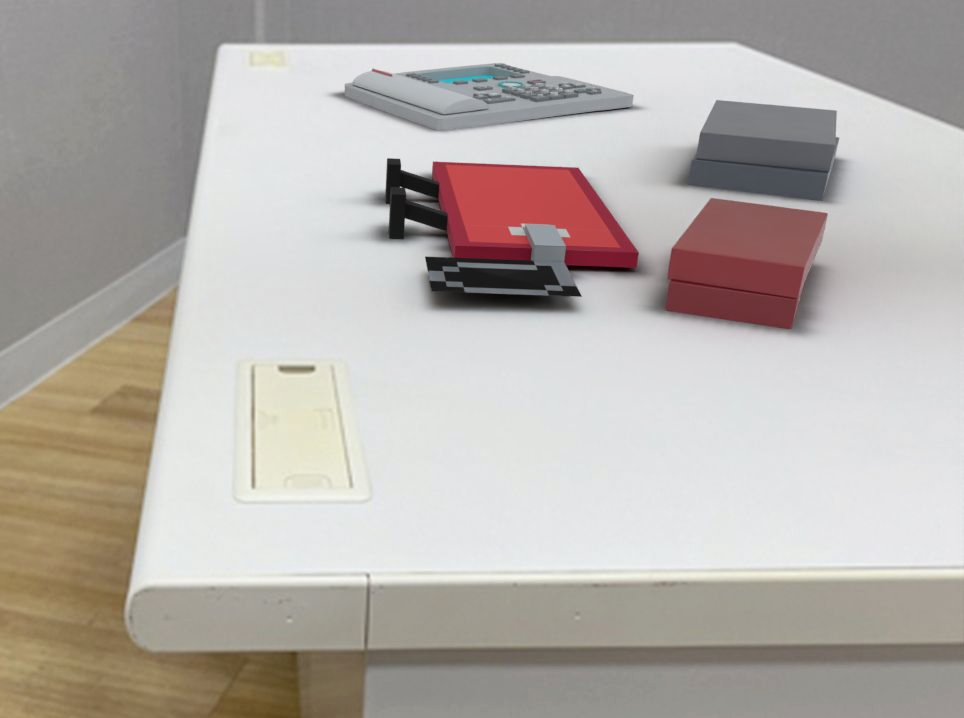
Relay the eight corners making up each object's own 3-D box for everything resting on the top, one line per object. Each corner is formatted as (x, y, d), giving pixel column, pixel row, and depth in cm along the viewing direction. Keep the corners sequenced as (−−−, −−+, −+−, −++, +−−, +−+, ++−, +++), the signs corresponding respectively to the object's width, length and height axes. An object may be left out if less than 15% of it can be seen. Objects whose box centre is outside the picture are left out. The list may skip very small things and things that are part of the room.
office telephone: (441, 103, 105) (323, 65, 119) (439, 134, 107) (323, 93, 120) (637, 79, 116) (507, 47, 130) (633, 108, 117) (506, 74, 131)
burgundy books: (798, 332, 66) (813, 268, 64) (660, 311, 69) (670, 249, 67) (815, 269, 76) (828, 211, 74) (694, 252, 78) (703, 196, 76)
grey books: (822, 202, 90) (834, 146, 88) (681, 185, 93) (690, 131, 91) (834, 161, 101) (846, 111, 99) (708, 147, 104) (717, 98, 102)
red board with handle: (396, 306, 67) (662, 316, 68) (399, 256, 66) (670, 266, 66) (383, 178, 93) (576, 186, 93) (384, 140, 91) (580, 148, 92)
